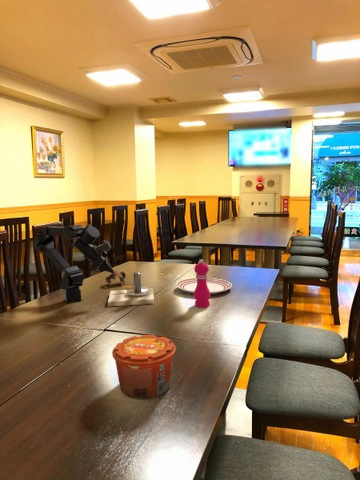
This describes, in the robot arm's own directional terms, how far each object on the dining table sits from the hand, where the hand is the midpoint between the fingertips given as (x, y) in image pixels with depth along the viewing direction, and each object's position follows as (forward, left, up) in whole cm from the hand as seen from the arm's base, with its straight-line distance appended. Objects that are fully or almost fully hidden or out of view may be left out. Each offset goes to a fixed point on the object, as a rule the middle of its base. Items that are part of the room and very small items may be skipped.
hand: (113, 272), depth 164 cm
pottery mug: (+13, +29, -14) cm, 35 cm away
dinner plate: (+44, -7, -14) cm, 46 cm away
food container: (-20, -72, -14) cm, 76 cm away
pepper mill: (+29, -27, -14) cm, 42 cm away
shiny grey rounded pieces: (+9, -1, -11) cm, 15 cm away
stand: (+8, 0, -13) cm, 16 cm away
